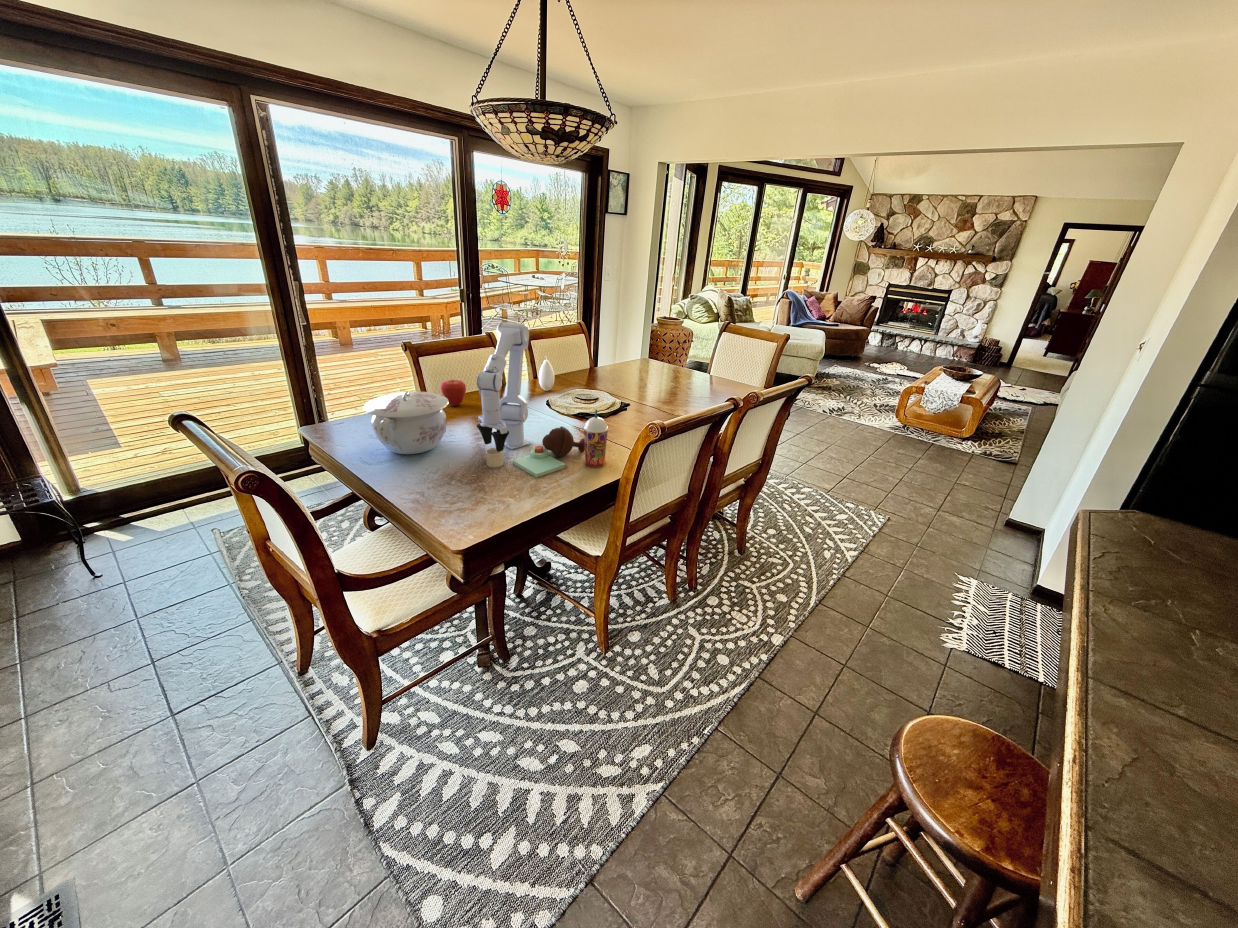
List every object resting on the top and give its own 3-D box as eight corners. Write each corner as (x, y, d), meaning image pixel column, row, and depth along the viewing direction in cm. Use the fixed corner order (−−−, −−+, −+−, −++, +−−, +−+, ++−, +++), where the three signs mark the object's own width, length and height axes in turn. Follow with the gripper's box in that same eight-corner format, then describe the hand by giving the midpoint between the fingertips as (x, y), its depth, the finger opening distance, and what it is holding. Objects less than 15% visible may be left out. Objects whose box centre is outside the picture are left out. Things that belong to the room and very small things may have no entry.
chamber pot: (431, 427, 192) (425, 376, 183) (467, 448, 175) (462, 394, 166) (358, 445, 173) (346, 389, 164) (390, 471, 157) (379, 410, 148)
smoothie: (597, 471, 163) (599, 415, 155) (578, 464, 167) (578, 410, 159) (611, 462, 170) (613, 409, 161) (591, 456, 174) (593, 404, 165)
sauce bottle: (537, 391, 241) (536, 356, 234) (541, 387, 248) (541, 352, 241) (552, 393, 240) (551, 357, 233) (556, 389, 247) (556, 354, 239)
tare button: (533, 451, 169) (533, 447, 168) (540, 449, 171) (540, 445, 170) (538, 454, 167) (538, 449, 167) (545, 452, 169) (545, 447, 168)
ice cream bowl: (583, 464, 173) (544, 459, 166) (573, 452, 182) (536, 446, 175) (592, 438, 170) (552, 430, 162) (581, 427, 179) (544, 419, 171)
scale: (511, 463, 166) (511, 455, 165) (541, 453, 174) (541, 446, 173) (536, 477, 157) (536, 469, 156) (566, 467, 165) (566, 459, 164)
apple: (463, 409, 213) (460, 383, 207) (439, 408, 213) (435, 381, 207) (470, 401, 223) (468, 376, 217) (447, 400, 223) (444, 375, 217)
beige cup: (483, 464, 164) (482, 450, 162) (497, 459, 168) (497, 446, 166) (492, 469, 161) (491, 456, 159) (506, 465, 164) (505, 451, 162)
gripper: (468, 405, 158) (472, 443, 164) (492, 417, 149) (495, 457, 154) (487, 401, 162) (490, 438, 168) (511, 412, 153) (513, 451, 159)
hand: (494, 447), depth 162 cm, fingers open, 7 cm apart
